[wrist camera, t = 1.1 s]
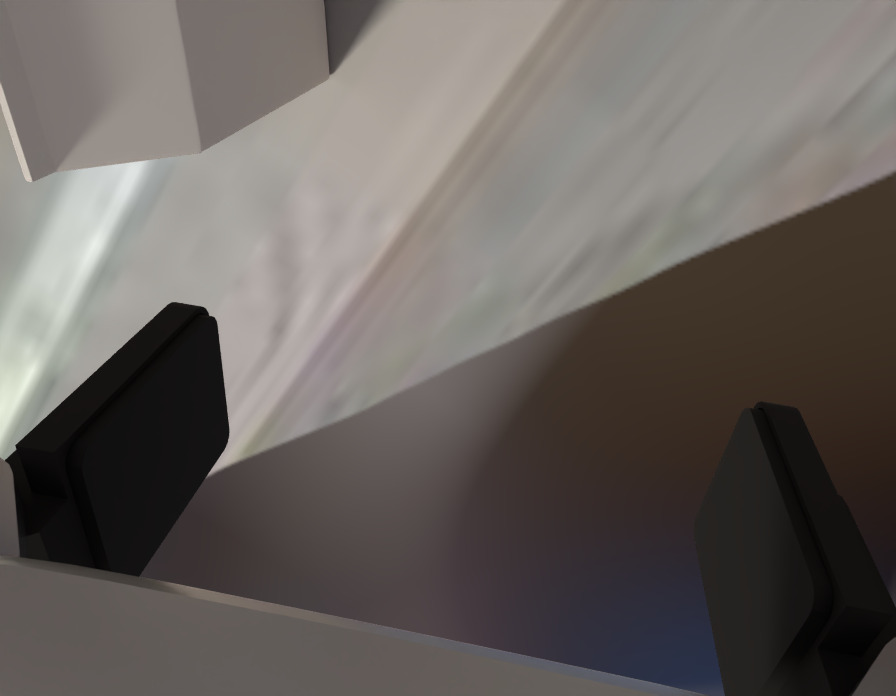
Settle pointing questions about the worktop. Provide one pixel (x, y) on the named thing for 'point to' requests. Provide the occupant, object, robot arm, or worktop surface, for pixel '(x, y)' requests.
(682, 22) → the worktop surface
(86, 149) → the milk carton
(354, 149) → the worktop surface
